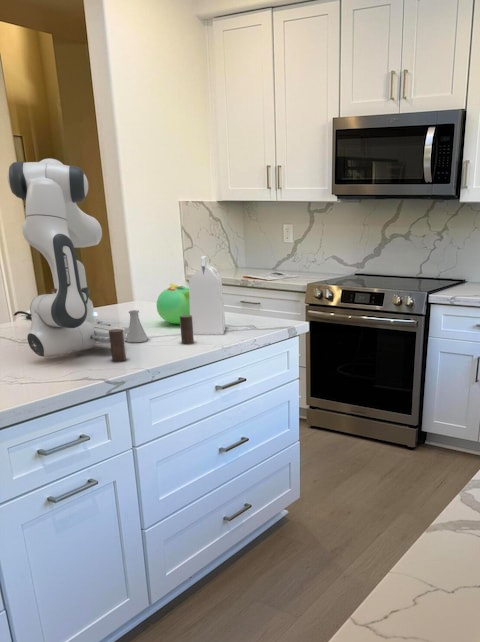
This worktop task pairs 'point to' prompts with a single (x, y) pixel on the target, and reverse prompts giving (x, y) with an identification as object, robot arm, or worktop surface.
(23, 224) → the robot arm
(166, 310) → the toy bird
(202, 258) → the milk
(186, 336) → the walnut peg back
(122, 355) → the walnut peg front
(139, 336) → the flask
